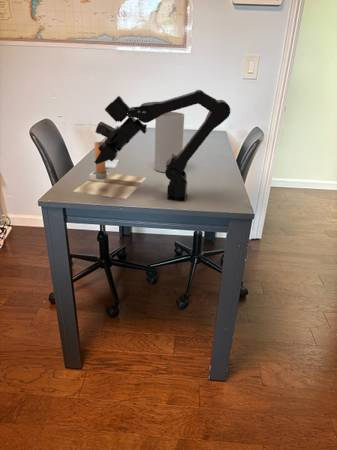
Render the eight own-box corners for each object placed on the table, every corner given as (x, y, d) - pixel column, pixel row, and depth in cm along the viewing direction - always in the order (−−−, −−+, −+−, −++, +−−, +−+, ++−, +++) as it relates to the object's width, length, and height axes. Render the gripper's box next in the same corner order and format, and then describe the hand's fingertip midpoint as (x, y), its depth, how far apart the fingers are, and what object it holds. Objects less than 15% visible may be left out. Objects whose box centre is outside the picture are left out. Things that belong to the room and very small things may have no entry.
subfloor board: (146, 181, 142) (146, 177, 141) (126, 202, 121) (126, 198, 120) (100, 175, 146) (100, 171, 145) (73, 195, 125) (72, 191, 125)
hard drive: (102, 158, 165) (97, 166, 154) (119, 159, 165) (115, 167, 154) (102, 162, 166) (97, 169, 155) (119, 162, 166) (115, 170, 155)
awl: (108, 176, 126) (106, 142, 120) (104, 180, 123) (102, 144, 117) (98, 175, 127) (96, 141, 121) (94, 178, 124) (91, 143, 118)
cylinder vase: (150, 166, 160) (151, 112, 149) (174, 164, 165) (177, 111, 153) (160, 174, 150) (161, 116, 139) (185, 172, 155) (189, 116, 143)
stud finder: (107, 178, 138) (107, 172, 137) (103, 181, 135) (103, 175, 133) (94, 177, 139) (93, 171, 138) (89, 180, 136) (89, 174, 135)
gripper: (114, 110, 123) (86, 139, 128) (103, 119, 106) (72, 152, 111) (135, 133, 126) (108, 160, 131) (128, 145, 110) (97, 176, 115)
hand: (96, 161), depth 122 cm, fingers closed on awl, 3 cm apart
